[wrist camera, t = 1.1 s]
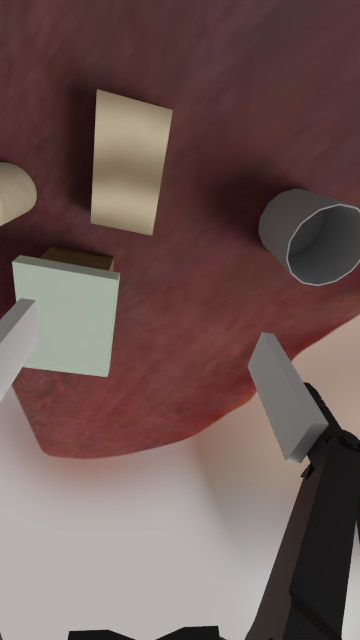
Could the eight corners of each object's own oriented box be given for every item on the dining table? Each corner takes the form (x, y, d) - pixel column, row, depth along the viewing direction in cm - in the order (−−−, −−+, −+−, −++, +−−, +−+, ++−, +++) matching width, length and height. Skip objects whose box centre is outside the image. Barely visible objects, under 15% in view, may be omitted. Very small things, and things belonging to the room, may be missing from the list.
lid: (20, 255, 31) (12, 261, 29) (120, 272, 33) (117, 280, 31) (29, 357, 39) (23, 366, 37) (109, 367, 40) (107, 376, 39)
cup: (249, 248, 38) (274, 278, 30) (271, 182, 34) (307, 196, 25) (306, 258, 39) (345, 290, 31) (333, 196, 35) (387, 213, 27)
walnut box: (52, 245, 36) (34, 261, 31) (114, 256, 38) (106, 274, 33) (54, 331, 44) (40, 355, 39) (106, 338, 45) (99, 363, 40)
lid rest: (104, 95, 29) (96, 89, 25) (171, 113, 30) (172, 110, 26) (97, 214, 35) (90, 222, 31) (153, 226, 36) (152, 235, 33)
